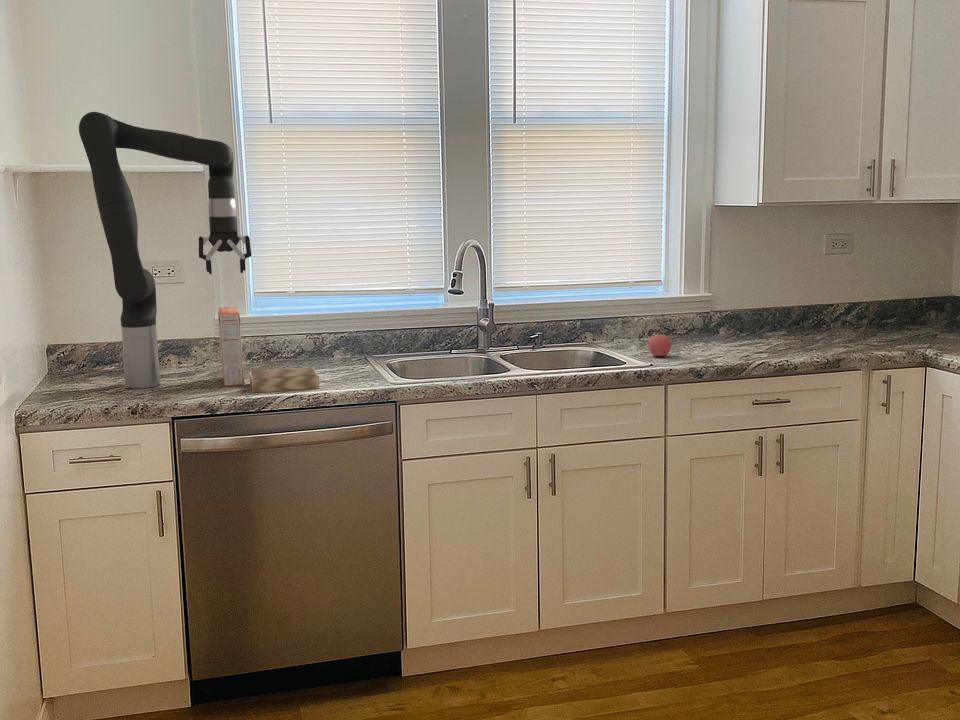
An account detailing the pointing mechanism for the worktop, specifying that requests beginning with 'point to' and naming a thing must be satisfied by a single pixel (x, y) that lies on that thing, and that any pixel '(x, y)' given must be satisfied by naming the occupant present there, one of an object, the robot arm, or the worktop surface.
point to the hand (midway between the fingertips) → (226, 273)
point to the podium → (284, 379)
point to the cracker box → (231, 346)
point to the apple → (659, 345)
